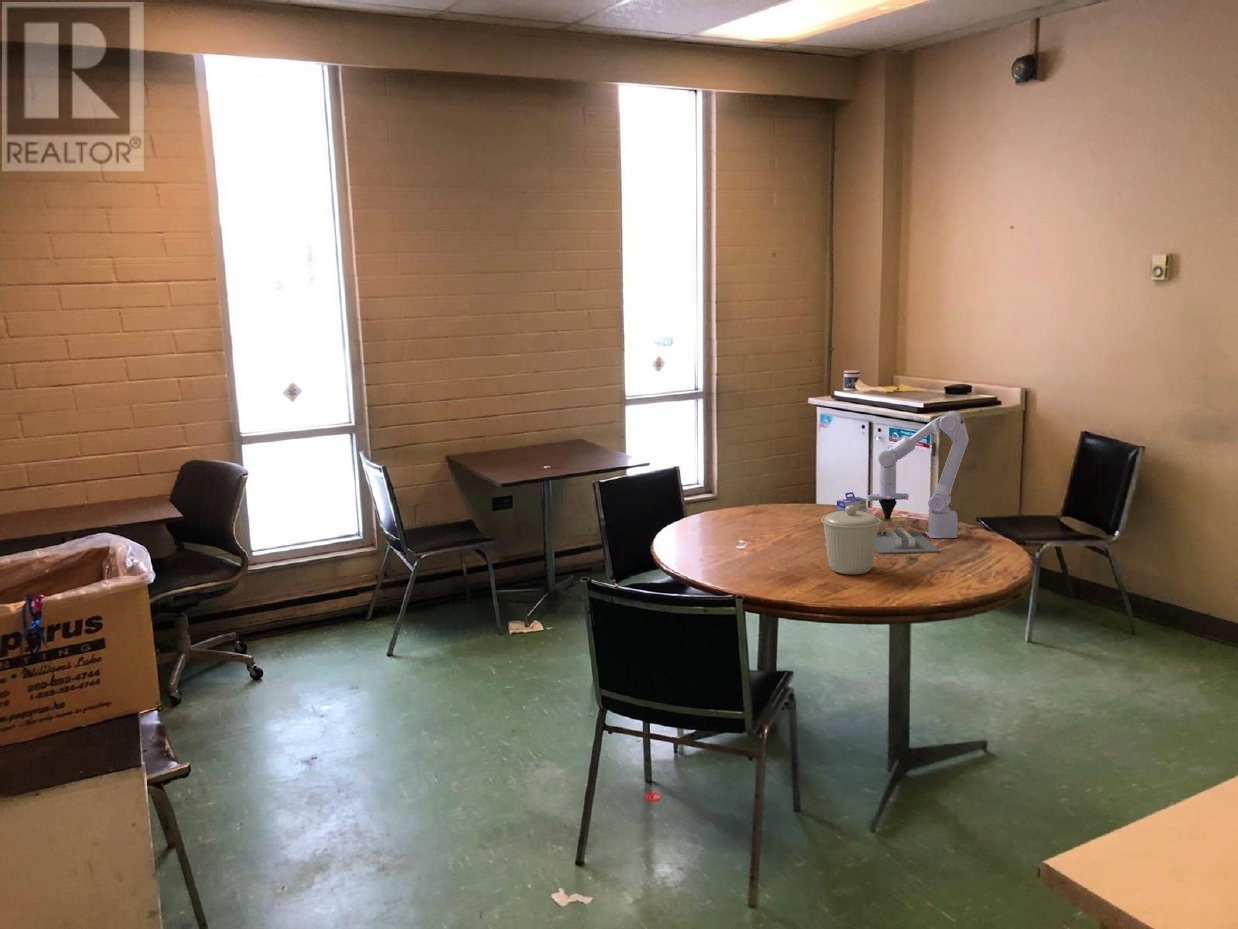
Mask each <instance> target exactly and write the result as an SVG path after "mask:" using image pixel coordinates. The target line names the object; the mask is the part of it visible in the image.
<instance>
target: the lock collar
mask: <svg viewBox="0 0 1238 929" xmlns="http://www.w3.org/2000/svg"><path fill="white" fill-rule="evenodd" d="M879 519H880V520H881V523H880V524H879V525H878V532H879V534H880V535H883V532H884V526H885V527H886V526H887V527H889V526H899V527H902V528H903V529H905V528H906V520H905V519H904V518H890V519H885V518H879ZM905 530H906V529H905Z"/></svg>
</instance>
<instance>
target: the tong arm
mask: <svg viewBox="0 0 1238 929" xmlns="http://www.w3.org/2000/svg"><path fill="white" fill-rule="evenodd" d="M885 527H886V526H885ZM885 532H886V536H887V538H888V539H889V540H890V541H891V543H892V544H893V546H894V547H895V548H902V539H901V538H900V537H898V535H897V534H896V533H895V532H896V531H895V530H894V529H893V528H892V526H891V527H889V526H887V527H886V528H885Z"/></svg>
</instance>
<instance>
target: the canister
mask: <svg viewBox="0 0 1238 929" xmlns="http://www.w3.org/2000/svg"><path fill="white" fill-rule="evenodd" d="M880 519H881V518H879V517H878V516H876V515H874V514H873V513H869V512H867V511H866V512H861V511H857V508H856V507H855V506H853V505H848V506H847V507H846V508H845V511H838V512H837V511H834V512H830V513H827V515H825V516H823V517H822V518H821V523H823V528H824V530H823V531H824V537H825V538H824V540H825V547H826V548H825V549H826V555H827V564H828V565H829V568H830V569H831V570H832V571H833V572H836V573H838V574H841V575H842V574H843V575H850V576H851V575H861V574H865V573H868V572H869V571H870V570H871V569H872V568H873V565H874V560H875V554H876V550H875V548H876V541H877V533H878V532H879V524H880V523H881V520H880Z"/></svg>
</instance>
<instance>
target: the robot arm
mask: <svg viewBox="0 0 1238 929" xmlns="http://www.w3.org/2000/svg"><path fill="white" fill-rule="evenodd" d="M940 432H943V433H945V434H946V435H947V436H948V437H949V439H950V440H951V442H952V444H951V447H950V449H949V452H948V455H947V458H946V461H945V463H944V466H943V470H942V472H941V475H940V479H939V481H938V484H937V486H936V488H935V490H934V493H933V495H932V496H931V497H930V498H929V499H928V501H927V505H928V508H929V509H928V528H927V529H928V531H924V534H926V535H927V536H928V538H930V539H955V538H958V537H959V536H958V526H959V525H958V522H959V520H958V514H957V511H955V510H951V509H950V507H949V505H950V504H951V502H952V494H951V493H952V490H953V486H954V482H955V480H956V477H957V473H958V471H959V470H960V469H959V468H960V466H961V463H962V460H963V457H964V454H965V451H966V449H967V446H968V443H969V435H968V430H967V427H966V422H965V419H964V418H963V416H962V414H960V412H958V411H955V410H949V411H947V412H946V413H945V414H943V415H940V416H938V417H936V418H934V419H933V420H931V421H930V422H929V423H927V424H926V425H924V426H923V427H922V428H920V429H919V430H918V431H916V432H915V433H914V434H913V435H911V436H903V437H902V436H900V437H899V438H898V439H897V441H896V442H895V443H894V444H892V445H888V446H887V447H886V448H887V449H885V450H884V451H881V453H879V456H878V463H879V464H880V465H879V493H873V494H866V502H867V501H868V502H876V501H878V503H879V504H880V507H881V509H882V512H883V517H884V518H883V519H891V516H892V514H893V510H894V508H895V507H896V505H897V500H901V501H902V500H905V501H907V500H909V494H908V493H907V492H906V493H902V492H900V493H899V492H897V462H898V461H899V460H901V459H903V458H905V457H906V456H907V455H909V454H910V453H912V452H913V451H914V450H915V449H916V445H917V443H919V442H920V441H922V440H924V439H925V438H926V437H929V436H930V435H931V434H933V433H940Z"/></svg>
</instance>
